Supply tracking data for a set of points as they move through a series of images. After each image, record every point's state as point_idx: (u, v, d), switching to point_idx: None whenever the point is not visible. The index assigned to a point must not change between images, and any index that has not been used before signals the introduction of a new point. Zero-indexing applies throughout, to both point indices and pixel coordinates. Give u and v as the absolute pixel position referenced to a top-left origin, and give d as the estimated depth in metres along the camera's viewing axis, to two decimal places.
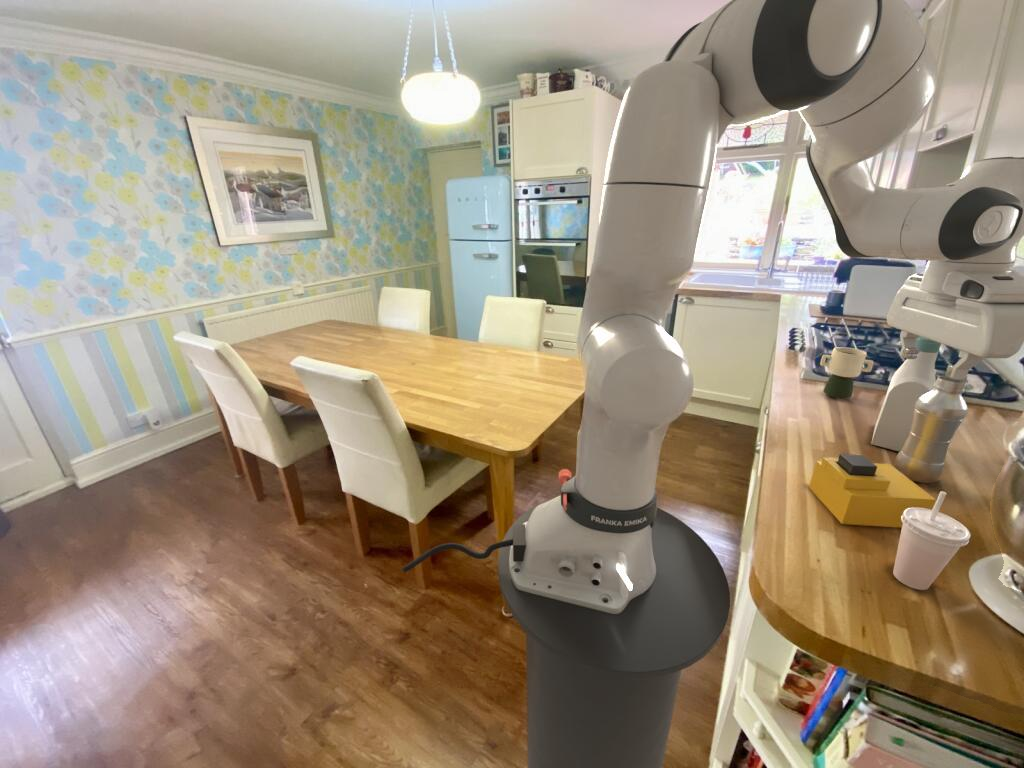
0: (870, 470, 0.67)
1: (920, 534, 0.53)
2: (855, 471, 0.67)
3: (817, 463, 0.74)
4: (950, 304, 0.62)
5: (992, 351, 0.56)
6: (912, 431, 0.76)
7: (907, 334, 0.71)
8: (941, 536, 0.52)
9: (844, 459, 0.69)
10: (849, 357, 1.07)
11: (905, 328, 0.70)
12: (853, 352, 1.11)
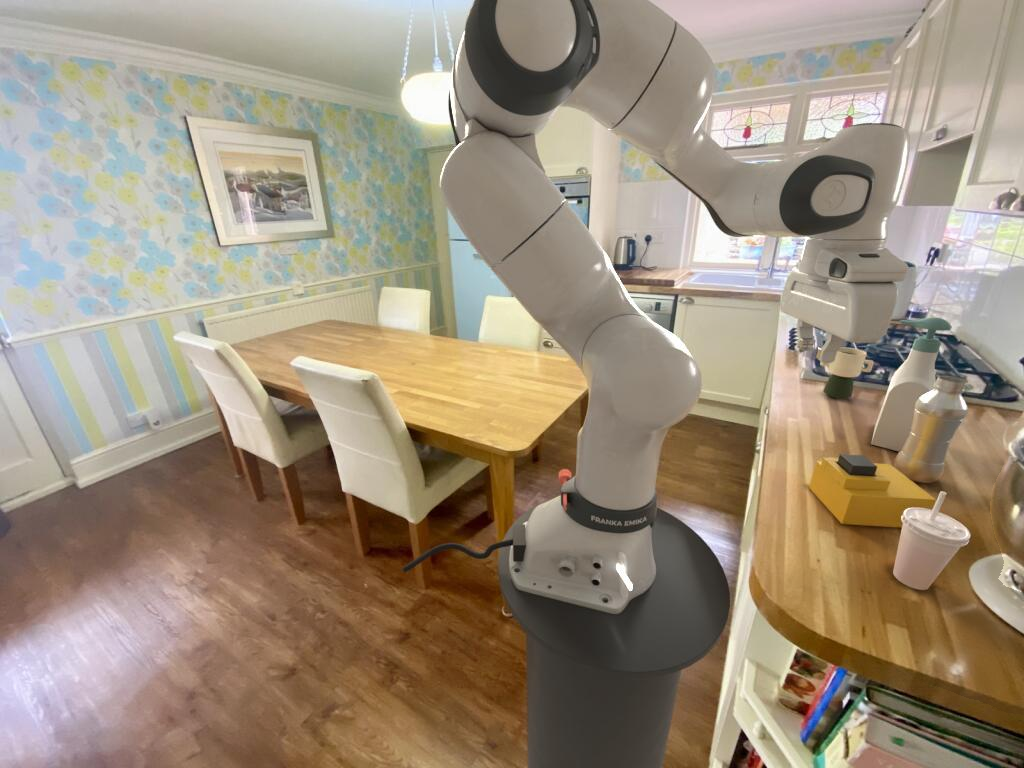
0: (870, 470, 0.67)
1: (920, 534, 0.53)
2: (855, 471, 0.67)
3: (817, 463, 0.74)
4: (824, 286, 0.57)
5: (856, 335, 0.52)
6: (912, 431, 0.76)
7: (802, 323, 0.65)
8: (941, 536, 0.52)
9: (844, 459, 0.69)
10: (849, 357, 1.07)
11: (793, 314, 0.66)
12: (853, 352, 1.11)
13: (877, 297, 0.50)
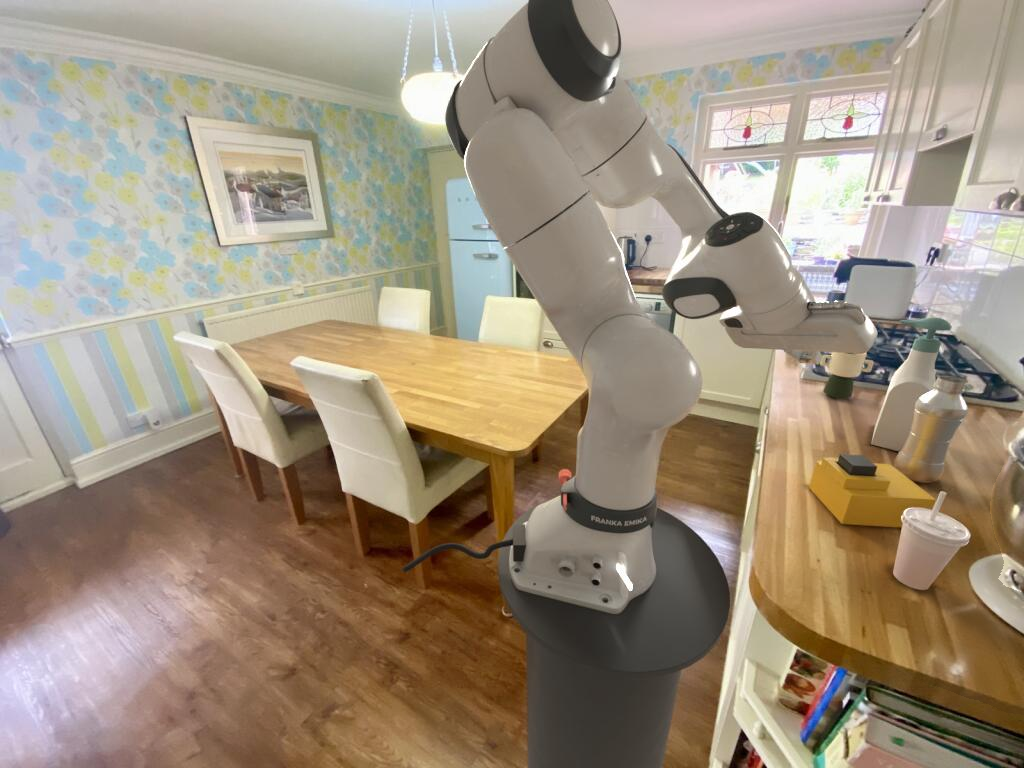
0: (870, 470, 0.67)
1: (920, 534, 0.53)
2: (855, 471, 0.67)
3: (817, 463, 0.74)
4: None
5: None
6: (912, 431, 0.76)
7: None
8: (941, 536, 0.52)
9: (844, 459, 0.69)
10: (849, 357, 1.07)
11: None
12: None
13: None
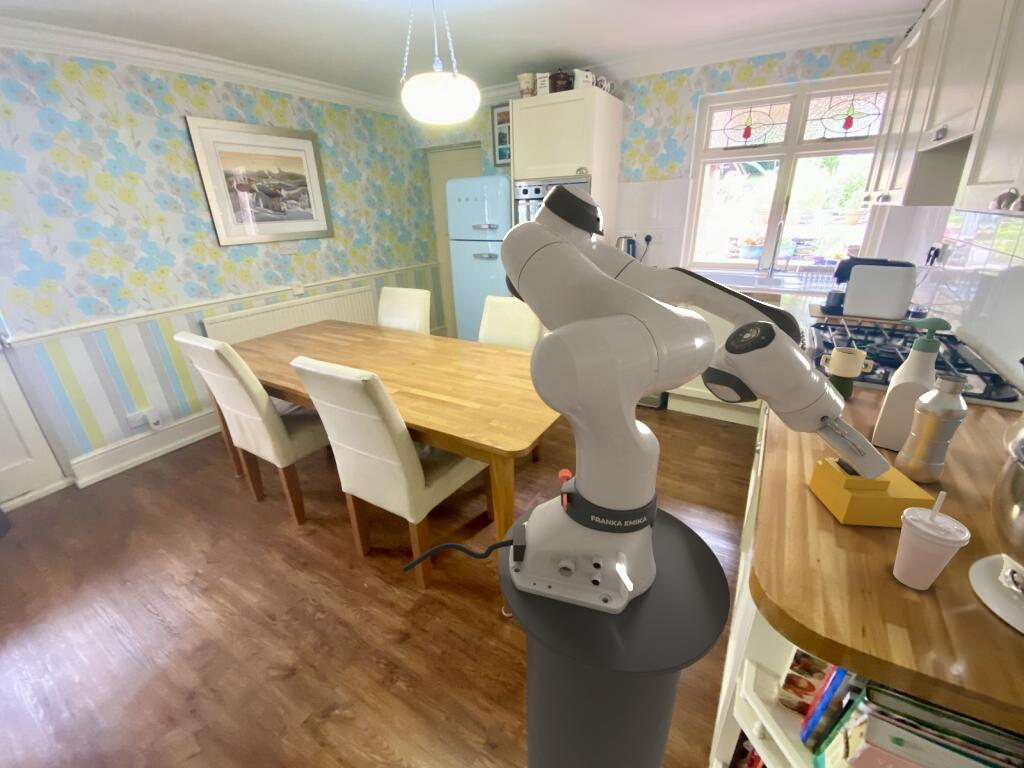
0: None
1: (920, 534, 0.53)
2: (854, 475, 0.68)
3: (817, 463, 0.74)
4: None
5: None
6: (912, 431, 0.76)
7: None
8: (941, 536, 0.52)
9: (843, 463, 0.69)
10: (849, 357, 1.07)
11: None
12: (853, 352, 1.11)
13: None
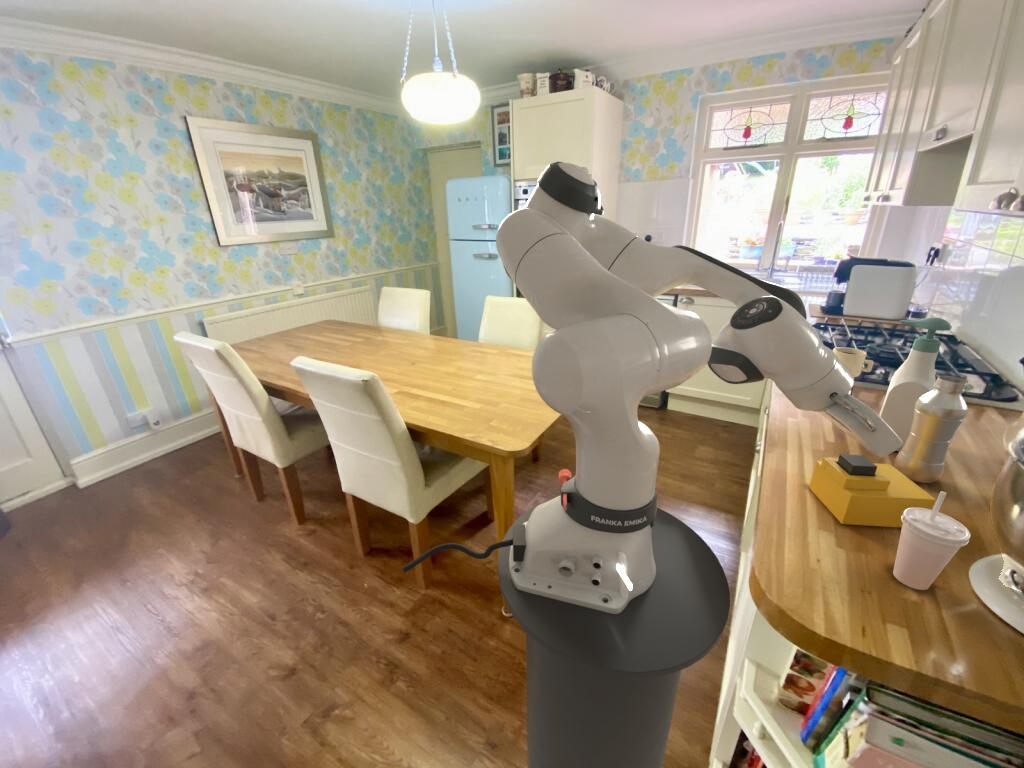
0: (870, 470, 0.67)
1: (920, 534, 0.53)
2: (855, 471, 0.67)
3: (817, 463, 0.74)
4: None
5: None
6: (912, 431, 0.76)
7: None
8: (941, 536, 0.52)
9: (844, 459, 0.69)
10: (849, 357, 1.07)
11: None
12: (853, 352, 1.11)
13: None
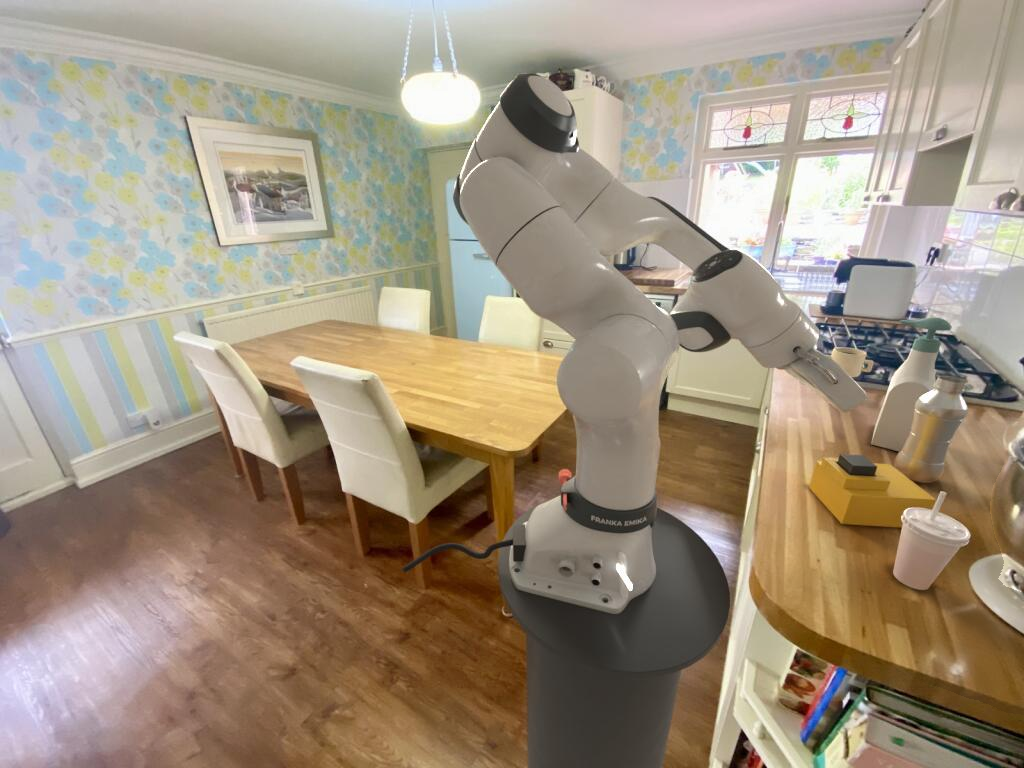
0: (870, 470, 0.67)
1: (920, 534, 0.53)
2: (855, 471, 0.67)
3: (817, 463, 0.74)
4: None
5: None
6: (912, 431, 0.76)
7: None
8: (941, 536, 0.52)
9: (844, 459, 0.69)
10: (849, 357, 1.07)
11: None
12: (853, 352, 1.11)
13: None
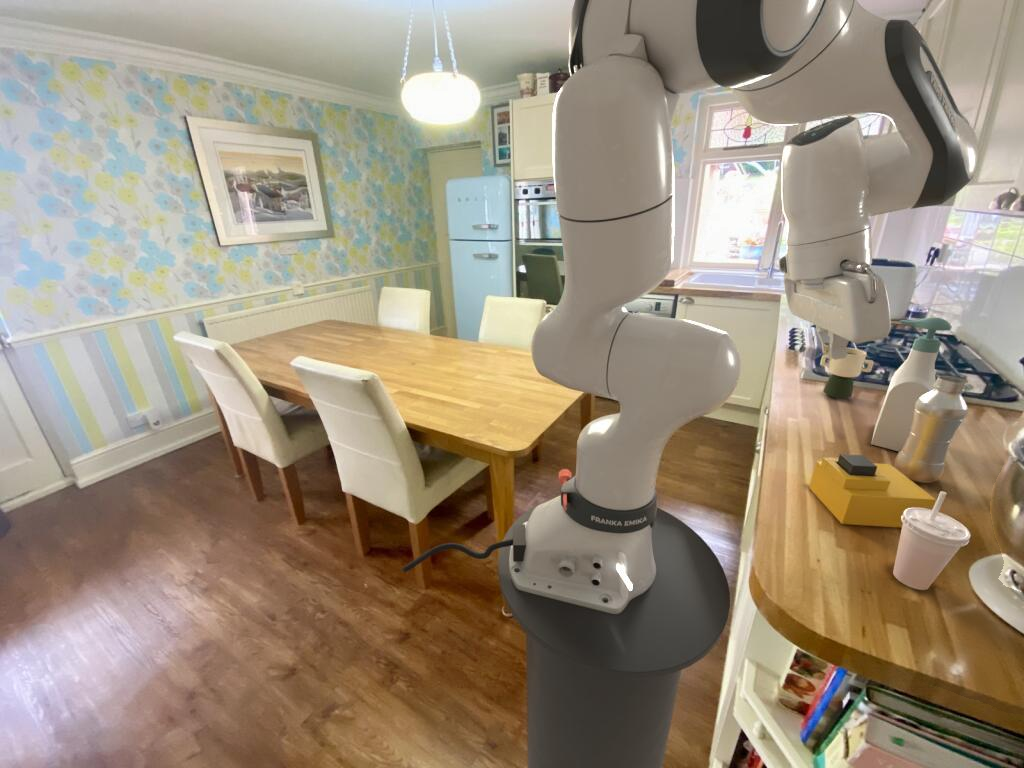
0: (870, 470, 0.67)
1: (920, 534, 0.53)
2: (855, 471, 0.67)
3: (817, 463, 0.74)
4: None
5: None
6: (912, 431, 0.76)
7: None
8: (941, 536, 0.52)
9: (844, 459, 0.69)
10: (849, 357, 1.07)
11: None
12: (853, 352, 1.11)
13: None
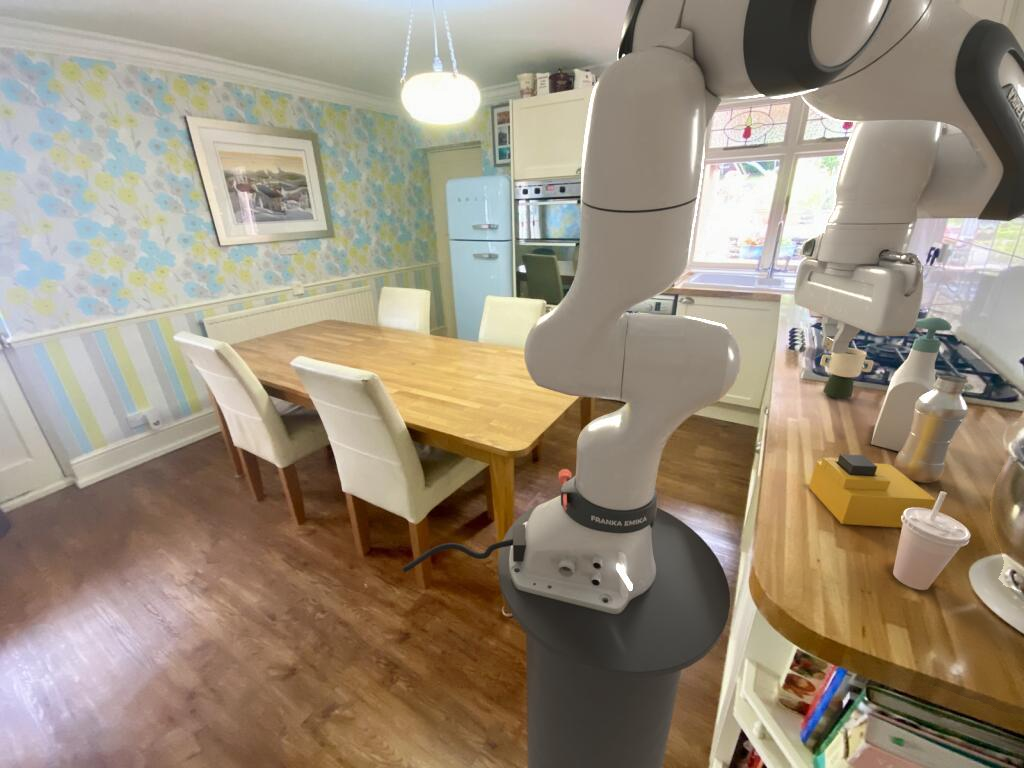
0: (870, 470, 0.67)
1: (920, 534, 0.53)
2: (855, 471, 0.67)
3: (817, 463, 0.74)
4: None
5: None
6: (912, 431, 0.76)
7: None
8: (941, 536, 0.52)
9: (844, 459, 0.69)
10: (849, 357, 1.07)
11: None
12: (853, 352, 1.11)
13: None
